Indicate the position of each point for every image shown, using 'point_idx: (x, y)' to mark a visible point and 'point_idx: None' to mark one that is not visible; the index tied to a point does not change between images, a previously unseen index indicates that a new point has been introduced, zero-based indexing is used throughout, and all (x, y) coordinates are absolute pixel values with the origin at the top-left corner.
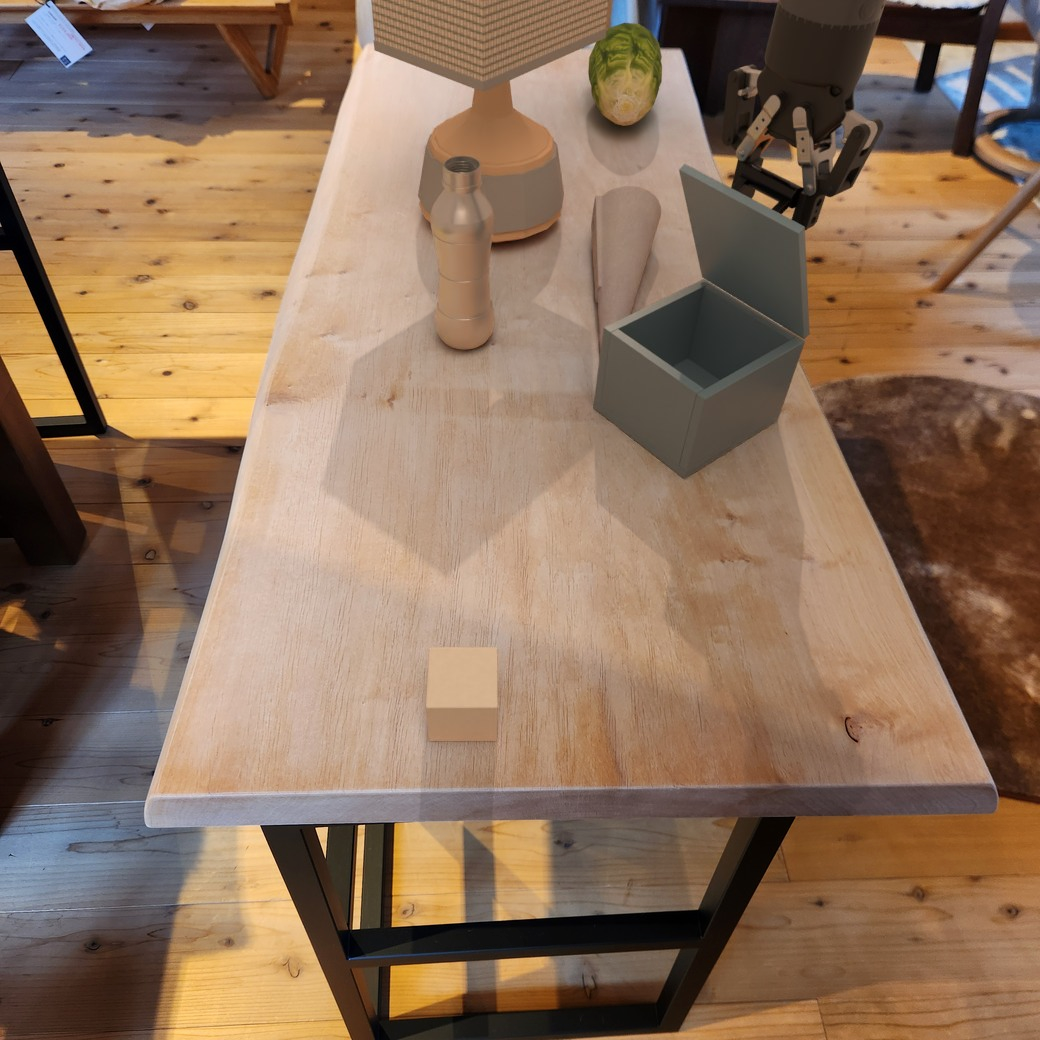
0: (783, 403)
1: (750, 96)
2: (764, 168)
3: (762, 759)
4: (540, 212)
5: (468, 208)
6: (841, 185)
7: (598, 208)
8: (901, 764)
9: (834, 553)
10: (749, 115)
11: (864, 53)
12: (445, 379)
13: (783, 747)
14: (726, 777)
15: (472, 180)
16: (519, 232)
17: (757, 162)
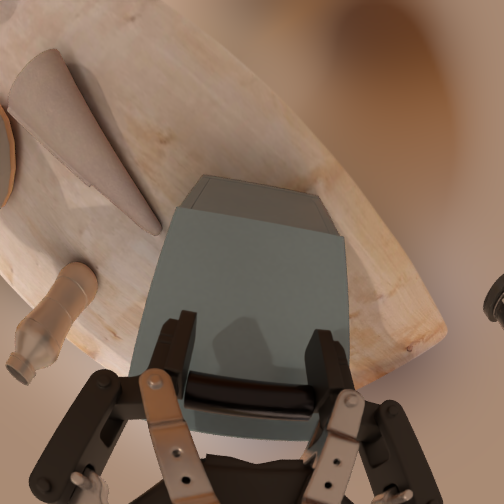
0: (322, 203)
1: (106, 485)
2: (217, 407)
3: (380, 372)
4: (2, 156)
5: (43, 365)
6: (383, 440)
7: (17, 118)
8: (425, 347)
9: (392, 284)
10: (101, 427)
11: None
12: (113, 309)
13: (386, 366)
14: (370, 381)
15: (30, 376)
16: (11, 173)
17: (182, 380)
